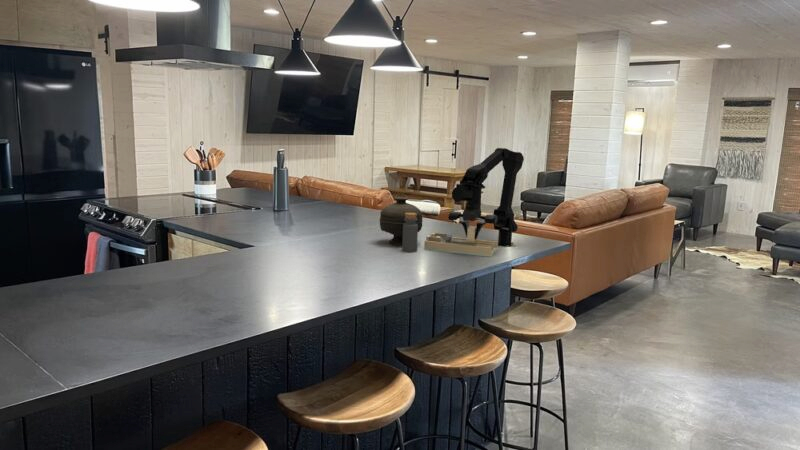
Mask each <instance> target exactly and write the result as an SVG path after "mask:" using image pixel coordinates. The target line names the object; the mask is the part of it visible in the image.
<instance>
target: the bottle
mask: <svg viewBox="0 0 800 450" xmlns="http://www.w3.org/2000/svg"><path fill="white" fill-rule="evenodd" d="M416 216H417V214H416V213H405V218H404V220H405V221H406V223H404V224H403V242H402V246H401V248H402V249H401V250H402V252H403V253H416V252H418V251H417V250H418V237H419V236H418V233H419V232H418V225H417V224H416V221H417V218H416Z"/></svg>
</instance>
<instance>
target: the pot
mask: <svg viewBox="0 0 800 450" xmlns="http://www.w3.org/2000/svg"><path fill="white" fill-rule="evenodd" d="M393 200H395V201H396V202H394V203H391V204H388V205H386V206H384V207H383V208H382V209H381V211H380V218H379V227H380V230H381V231H382V232H385V233H387V234H388V233H389V234H391V235H392V236H393V237H392V238H391V239H390V240H388V245H391V246H394V247H395V246H396V247H402V242H403V224H404V223H406V221H405V220H404V218H405V213H416V214H417V216H416V218H417V221H416V224H417V225H418V233H419V232H420V231H421V230H422V227H423V213H422V211H421V209H419V208H418V207H417V206H415V205H413V204H411V203H408V202H407V201H408V200H409V197H406V196H399V197H397V196H396V197H394V198H393Z"/></svg>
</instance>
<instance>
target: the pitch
mask: <svg viewBox="0 0 800 450" xmlns="http://www.w3.org/2000/svg"><path fill="white" fill-rule="evenodd" d="M452 239H454V240H463V241H467V237H455V236H452ZM423 246H424V247H423V248H424V249H423V250H425V251H433V252H442V253H452V254H460V255H469V256H477V257H478V256H480V257H487V258H492V256H493V255H494V254H495V253H496V252H498V249H499V247H498V246H499V245H498V241H494V240H485V239H476V246H472V245H462V244H452V243H443V242H433V241H426V240H424V244H423Z"/></svg>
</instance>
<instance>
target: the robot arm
mask: <svg viewBox="0 0 800 450" xmlns="http://www.w3.org/2000/svg"><path fill="white" fill-rule="evenodd" d="M500 163H501V164H502V168H503V170H504V177H503V183H502V189H501V195H500V202H499V206H498V207H497V208H496V209H494V210H493V214H486V215H482V210H481V207H482V206H481V205H482V189H486V186H485V185H484V184H483V183H484V182H485V181H486V179H487V178H488V177H489V176H488V175H489V173H490V172H491V171H492V170H493V169H495V167H497V166H498V165H499V164H500ZM523 164H524V155H523V153H522V152H519V151H513V150H511V149H508V148H506V147H505V148H504V147H503V148H502V147H497V148H496V149H495V150H494V151H493V152H492V153H491V154H489V156H487V157H486V158H485V159H484V160H483V161H482V162H480V163H478V164H476V165H472V166H470V167H468V168H467V169H466V171H465V173H464V175H463V177H462V179H461V181H460V182H459V183H457V184H456V186H455V187H454V188H453V190H452V192H451V197H452V199H453V201H454V202H457V203H458V202H459V203H460V202H466V203H465V207H464V209H463V212H461V211H451V212H450V213H449V214H448V221H457V220H458V219H459V220H458V224H461V225H462V226H463V229H464V233H465V236H466V237H465V238H467V229H468V227H469V226H470V222H475V221H478V222H476V227H477V228H476V234H475V239H476V240H478V237H479V235H480V231H481V230H482V228H483V226H485V225H486V224H489V225H490V224H492V225H493V228H494V230H496V231H497V230H498V234H497V235H498V236H497V242H498V246H507V247H512V245H514V242H512V241H513V240H512V239H513V238H512V237H513V233H516V232H517V231H518V224H517V222H516V221H515V213H514V210H513V209H512V207H513V199H514V193H515V186H516V181H517V175H518V173H519V171H520V170H521V169H522V166H523Z"/></svg>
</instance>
